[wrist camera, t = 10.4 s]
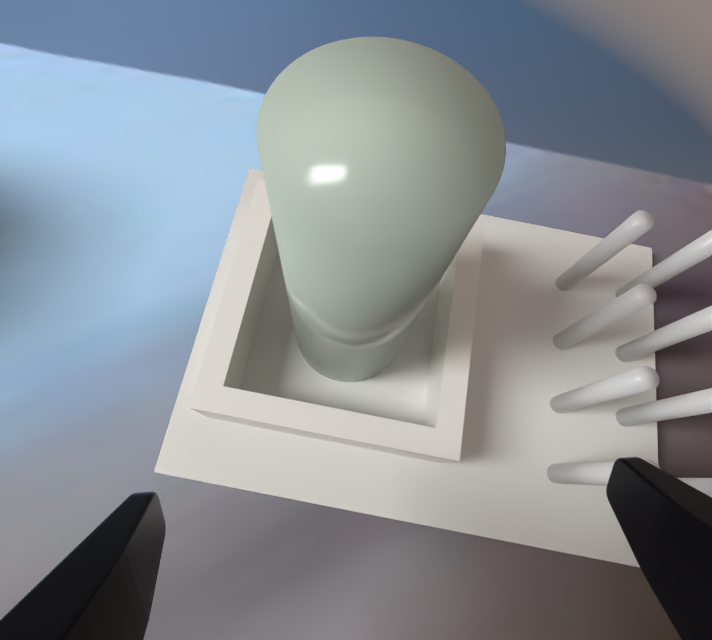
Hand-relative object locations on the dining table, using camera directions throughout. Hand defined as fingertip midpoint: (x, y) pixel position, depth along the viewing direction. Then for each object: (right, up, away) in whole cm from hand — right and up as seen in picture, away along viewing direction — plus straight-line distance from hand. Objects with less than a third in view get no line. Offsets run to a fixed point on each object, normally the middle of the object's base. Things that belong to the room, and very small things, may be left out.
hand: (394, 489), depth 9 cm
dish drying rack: (+3, +2, +13) cm, 13 cm away
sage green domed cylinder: (-1, +3, +12) cm, 13 cm away
